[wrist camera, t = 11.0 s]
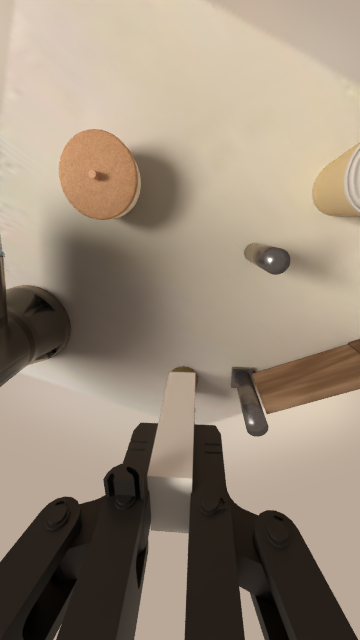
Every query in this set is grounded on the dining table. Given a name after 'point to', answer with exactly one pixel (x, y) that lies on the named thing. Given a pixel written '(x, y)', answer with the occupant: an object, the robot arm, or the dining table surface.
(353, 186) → the coffee cup
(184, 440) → the robot arm
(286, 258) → the gate frame
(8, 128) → the dining table surface
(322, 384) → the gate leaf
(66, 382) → the dining table surface
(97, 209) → the lidded jar
